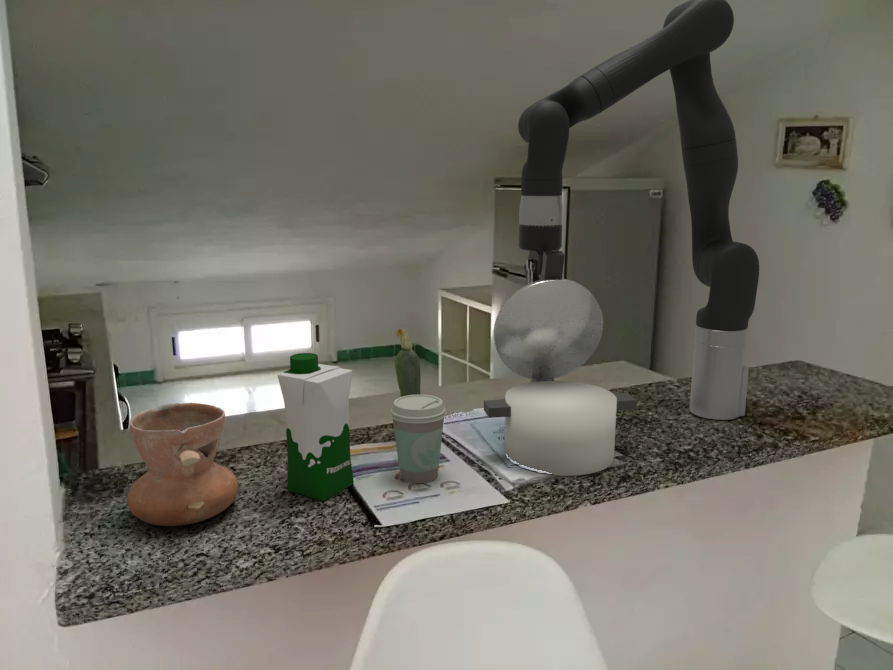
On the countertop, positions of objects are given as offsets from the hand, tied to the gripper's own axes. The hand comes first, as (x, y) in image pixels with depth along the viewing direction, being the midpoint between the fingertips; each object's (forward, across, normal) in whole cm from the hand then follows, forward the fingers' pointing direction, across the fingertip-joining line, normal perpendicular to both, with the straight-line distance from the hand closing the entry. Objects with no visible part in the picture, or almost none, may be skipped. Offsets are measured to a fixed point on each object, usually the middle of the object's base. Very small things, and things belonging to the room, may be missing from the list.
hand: (538, 319), depth 129 cm
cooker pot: (+20, -14, 0) cm, 24 cm away
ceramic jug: (+20, -26, +58) cm, 66 cm away
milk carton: (+20, -21, +39) cm, 49 cm away
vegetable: (+20, -3, +24) cm, 32 cm away
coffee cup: (+20, -19, +24) cm, 37 cm away
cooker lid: (0, -7, 0) cm, 7 cm away
